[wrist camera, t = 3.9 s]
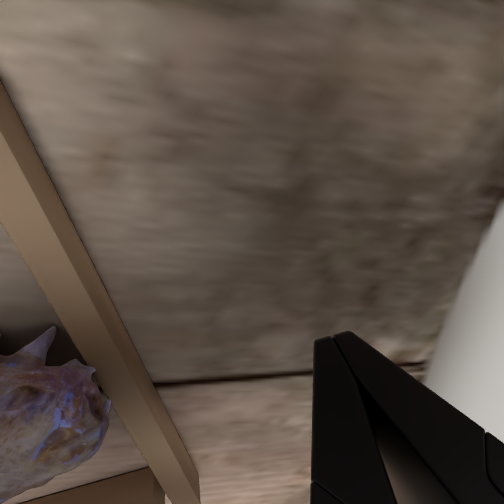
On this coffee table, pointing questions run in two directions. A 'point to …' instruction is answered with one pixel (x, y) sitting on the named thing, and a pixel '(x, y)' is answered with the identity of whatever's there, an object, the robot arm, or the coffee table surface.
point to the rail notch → (89, 327)
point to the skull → (46, 417)
